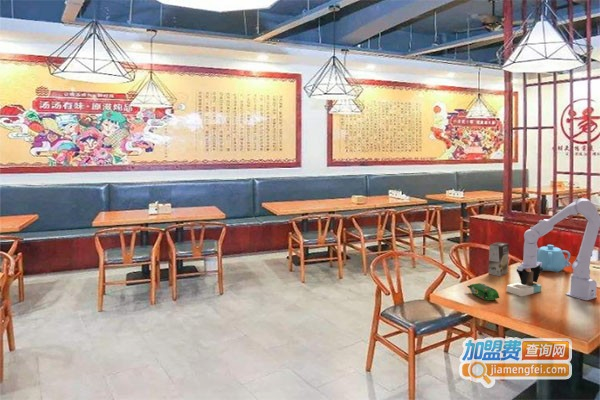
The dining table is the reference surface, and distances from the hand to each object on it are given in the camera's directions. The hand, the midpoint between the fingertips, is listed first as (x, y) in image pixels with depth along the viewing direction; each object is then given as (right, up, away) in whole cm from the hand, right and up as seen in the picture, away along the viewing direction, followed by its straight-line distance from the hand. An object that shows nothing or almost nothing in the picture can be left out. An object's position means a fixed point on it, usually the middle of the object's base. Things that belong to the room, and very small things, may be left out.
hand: (529, 283), depth 211 cm
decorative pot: (+27, +1, +32) cm, 42 cm away
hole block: (-3, -4, -1) cm, 5 cm away
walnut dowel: (0, -3, 0) cm, 3 cm away
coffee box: (-2, 0, +27) cm, 28 cm away
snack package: (-24, -5, -6) cm, 26 cm away
